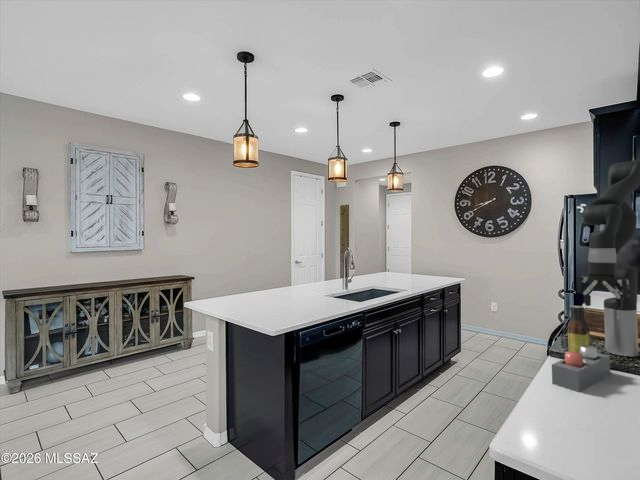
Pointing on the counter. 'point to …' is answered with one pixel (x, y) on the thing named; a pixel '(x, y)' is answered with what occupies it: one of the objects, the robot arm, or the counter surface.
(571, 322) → the sauce bottle
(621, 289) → the robot arm
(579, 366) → the red button
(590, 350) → the steel button
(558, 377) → the button panel
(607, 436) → the counter surface
